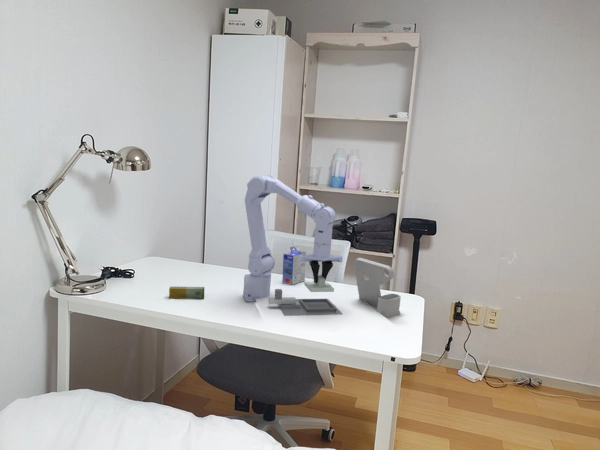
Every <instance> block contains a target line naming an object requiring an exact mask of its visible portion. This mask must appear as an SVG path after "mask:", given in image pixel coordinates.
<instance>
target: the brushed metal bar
mask: <svg viewBox="0 0 600 450" xmlns="http://www.w3.org/2000/svg"><path fill="white" fill-rule="evenodd" d="M296 299H297V298H296V297H294V296H292V297H288V296H287V297H283V290H282V288H275V289H274V297H268V304H269V305H277V304H296Z"/></svg>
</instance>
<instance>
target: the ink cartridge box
mask: <svg viewBox="0 0 600 450" xmlns="http://www.w3.org/2000/svg"><path fill="white" fill-rule="evenodd" d="M289 249H290V252H286V253H283V257H282V262H283V263H282V283H283V284H287V285H290V284H291V285H290V286H292V285H296V284H299V283H301V282H303V281H304V282H305V277H306V264H307V263H306V262H307V261H304V262H301V261H300V255H307V252H306V251H300V250H297V247H296V246H290V247H289Z"/></svg>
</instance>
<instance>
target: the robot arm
mask: <svg viewBox="0 0 600 450" xmlns="http://www.w3.org/2000/svg"><path fill="white" fill-rule="evenodd" d="M246 187H247V190H246V194H245V197H244V205H245V211H246V212H245V213H246V218H247V219H246V220H247V225H248V231H249V232H248V233H249V238H250V245H251V250H250V252H249V254H248V263H247V269H248V272H249V273H246V274H244V278H243V294H242V295H243V298H244V300H245V302H257V300H256V298H261V299H263V298H269V297H270V294H271V280H272V270H273V269H274V268H275V267H276V266H275V265H276V261H275V258H274V257H273V255H272V251H271V249H270V248H269V246H268V245H267V239H266V238H267V237H266V231H265V224H264V217H263V211H262V202H263V201H264V200H265V198H266V197H267V196H270V195H271V194H278V195H280V196H281V197H283V198H285V200H286V199H287V200H288V201H290V202H292V203H294V204H295V206H296V208H297V210H298V211H300V212H301V213H303V214H305V215H306V216H307V217H309V218H311V219H313V221H314V223H315V229H314V240H313V241H314V242H313V253H312V254H306V255H300V261H301V262H304V261H306V262H308V263H309V266H310V268H311V272H312V277H313V282H315V283H318V274H320V267H321V275H322V276H323V277H324V278H325V281H326V280H327V277H328V276H329V273H330V271H331V269H333V267H334V263H335V262H337V263H342V262H343V256H342V255H337V254H336V255H335V254H331V250H332V239H333V238H332V237H333V226H334V221H335V220H336V218H337V214H336V211H335V210H334V209H333V208H332V207H331V206H325V204H324V203H323V202H321V203H320V202H319V201H317V200H316V199H314V198H313V197H314V196H312V195H311V194H310V195H307V194H304V195H301V194H299V192H297V191H295V190H293V189H292V188H291V187H289V186H288V185H287V184H284V183H283V182H282V181H281V180H280V179H277V178H275V177H274V176H272V175H263V176H262V175H261V176H260V175H255V176H253V177H252V178H251V179H250V180H249V181H248V182H247V183H246ZM319 262H321V265H320V264H319Z"/></svg>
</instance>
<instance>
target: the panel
mask: <svg viewBox="0 0 600 450" xmlns="http://www.w3.org/2000/svg"><path fill="white" fill-rule="evenodd" d="M276 305H277V307H278V308H279V310H280V311H281V314H283V317H284V316H285V317H288V316H289V317H290V316H291V317H292V316H300V317H301V316H335V315H343V312H342V311H340V309H339V308H338V307H337V306H336V305H335V304H334V303H333V302H332V301H331V300H330V299H329V298H296V304H276Z"/></svg>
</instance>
